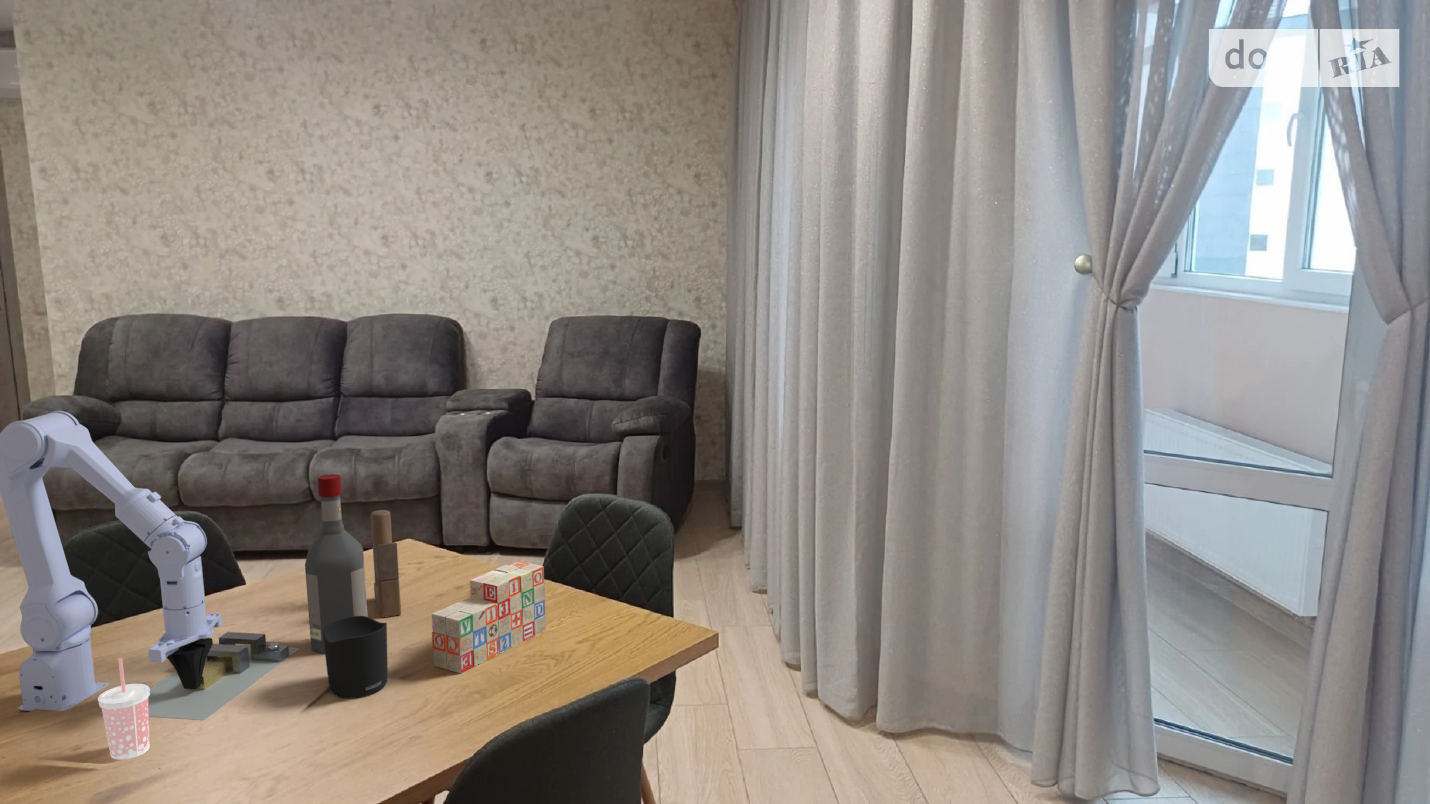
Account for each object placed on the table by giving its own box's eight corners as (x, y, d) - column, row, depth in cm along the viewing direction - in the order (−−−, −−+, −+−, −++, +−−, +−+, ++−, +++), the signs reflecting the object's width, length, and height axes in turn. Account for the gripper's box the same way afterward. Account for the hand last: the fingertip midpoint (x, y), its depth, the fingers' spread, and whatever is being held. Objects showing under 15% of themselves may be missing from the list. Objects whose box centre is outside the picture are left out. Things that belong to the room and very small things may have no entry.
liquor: (369, 632, 181) (358, 468, 176) (368, 651, 173) (357, 480, 168) (314, 638, 178) (302, 472, 174) (310, 658, 170) (297, 485, 165)
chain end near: (240, 673, 163) (238, 652, 162) (178, 670, 164) (176, 648, 164) (249, 667, 165) (247, 645, 165) (188, 663, 167) (186, 642, 166)
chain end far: (280, 662, 167) (279, 641, 167) (220, 658, 169) (218, 637, 168) (289, 656, 170) (287, 635, 169) (229, 652, 171) (227, 631, 170)
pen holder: (324, 703, 154) (319, 641, 152) (330, 678, 163) (325, 618, 161) (389, 696, 156) (385, 634, 154) (391, 671, 165) (387, 612, 163)
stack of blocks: (461, 675, 164) (457, 602, 162) (433, 667, 167) (429, 595, 165) (546, 630, 182) (544, 564, 180) (520, 624, 185) (517, 559, 183)
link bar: (204, 689, 157) (203, 676, 157) (187, 688, 158) (185, 675, 157) (246, 660, 168) (245, 648, 167) (230, 659, 168) (229, 647, 168)
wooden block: (381, 618, 188) (375, 525, 185) (374, 600, 197) (368, 510, 194) (401, 615, 189) (396, 522, 186) (394, 597, 199) (388, 508, 196)
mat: (204, 723, 147) (204, 719, 147) (111, 717, 150) (110, 713, 149) (300, 651, 173) (300, 648, 173) (219, 647, 175) (219, 643, 175)
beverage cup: (145, 739, 143) (135, 645, 141) (163, 753, 139) (153, 657, 137) (97, 756, 138) (86, 659, 136) (115, 771, 135) (104, 672, 132)
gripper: (176, 622, 146) (185, 710, 149) (237, 588, 160) (244, 668, 163) (132, 620, 147) (141, 707, 150) (196, 586, 161) (203, 666, 164)
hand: (192, 687), depth 156 cm, fingers closed
